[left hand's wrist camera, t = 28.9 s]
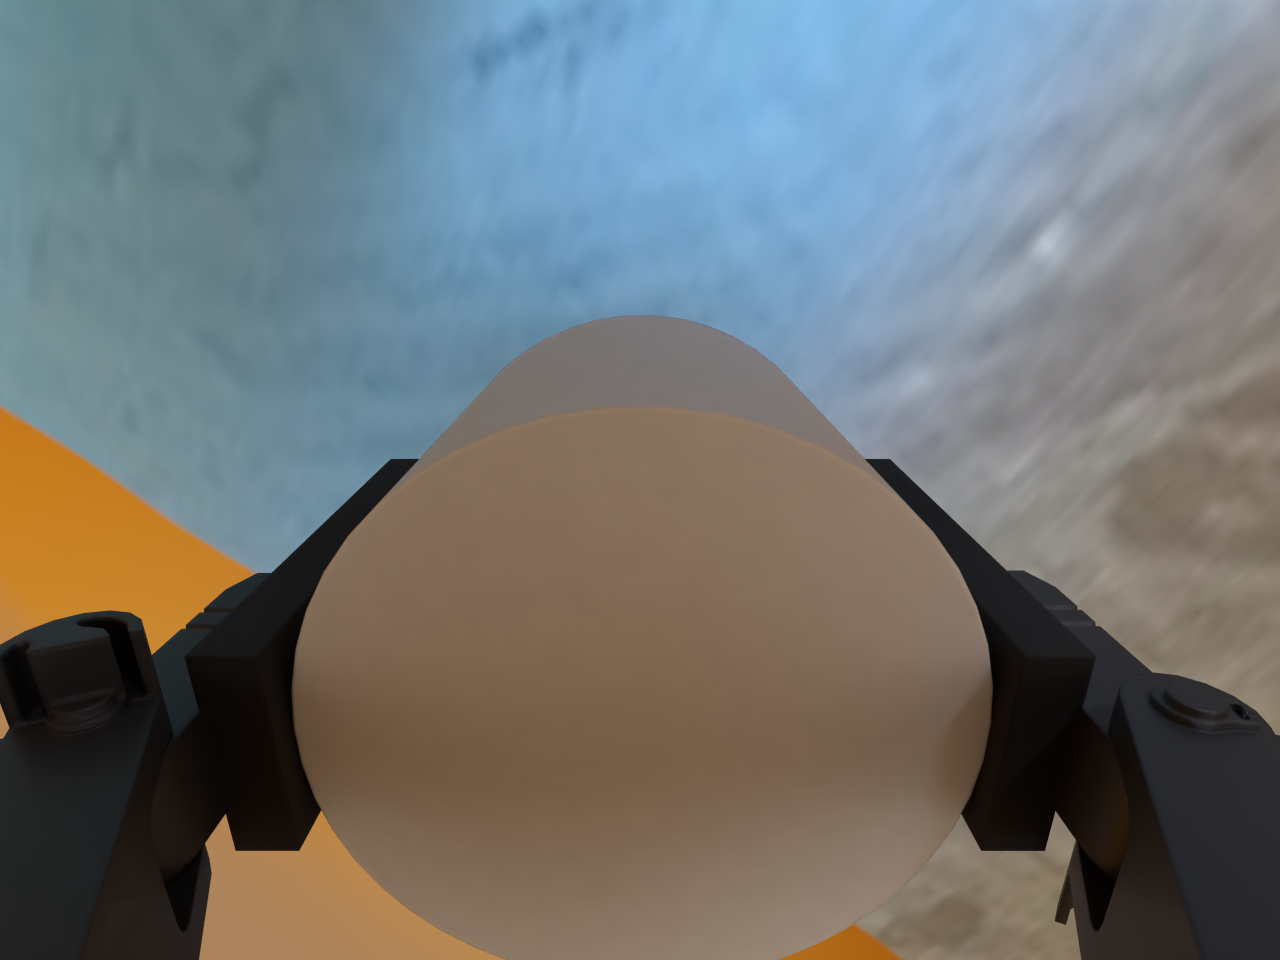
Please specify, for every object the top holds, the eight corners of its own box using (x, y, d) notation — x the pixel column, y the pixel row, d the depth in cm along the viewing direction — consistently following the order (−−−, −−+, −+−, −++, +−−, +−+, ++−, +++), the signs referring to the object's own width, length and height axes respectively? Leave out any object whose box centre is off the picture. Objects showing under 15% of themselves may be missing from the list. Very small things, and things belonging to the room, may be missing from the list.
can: (852, 639, 16) (1004, 937, 9) (506, 699, 16) (416, 1020, 10) (809, 274, 13) (982, 328, 6) (396, 361, 14) (168, 493, 7)
